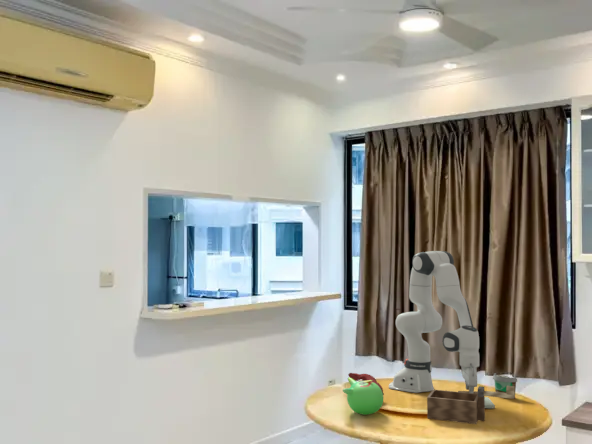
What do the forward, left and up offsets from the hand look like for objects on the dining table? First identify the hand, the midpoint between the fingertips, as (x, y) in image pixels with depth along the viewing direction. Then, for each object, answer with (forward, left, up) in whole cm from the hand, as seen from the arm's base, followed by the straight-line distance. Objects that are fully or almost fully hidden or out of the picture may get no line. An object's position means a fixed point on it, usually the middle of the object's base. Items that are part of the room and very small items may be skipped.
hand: (469, 392), depth 276 cm
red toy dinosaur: (-47, -2, -6) cm, 47 cm away
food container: (+13, +20, -6) cm, 25 cm away
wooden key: (+14, -22, +5) cm, 27 cm away
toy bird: (-41, -32, -6) cm, 52 cm away
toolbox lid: (0, 0, -5) cm, 5 cm away
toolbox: (-3, -22, -6) cm, 23 cm away
